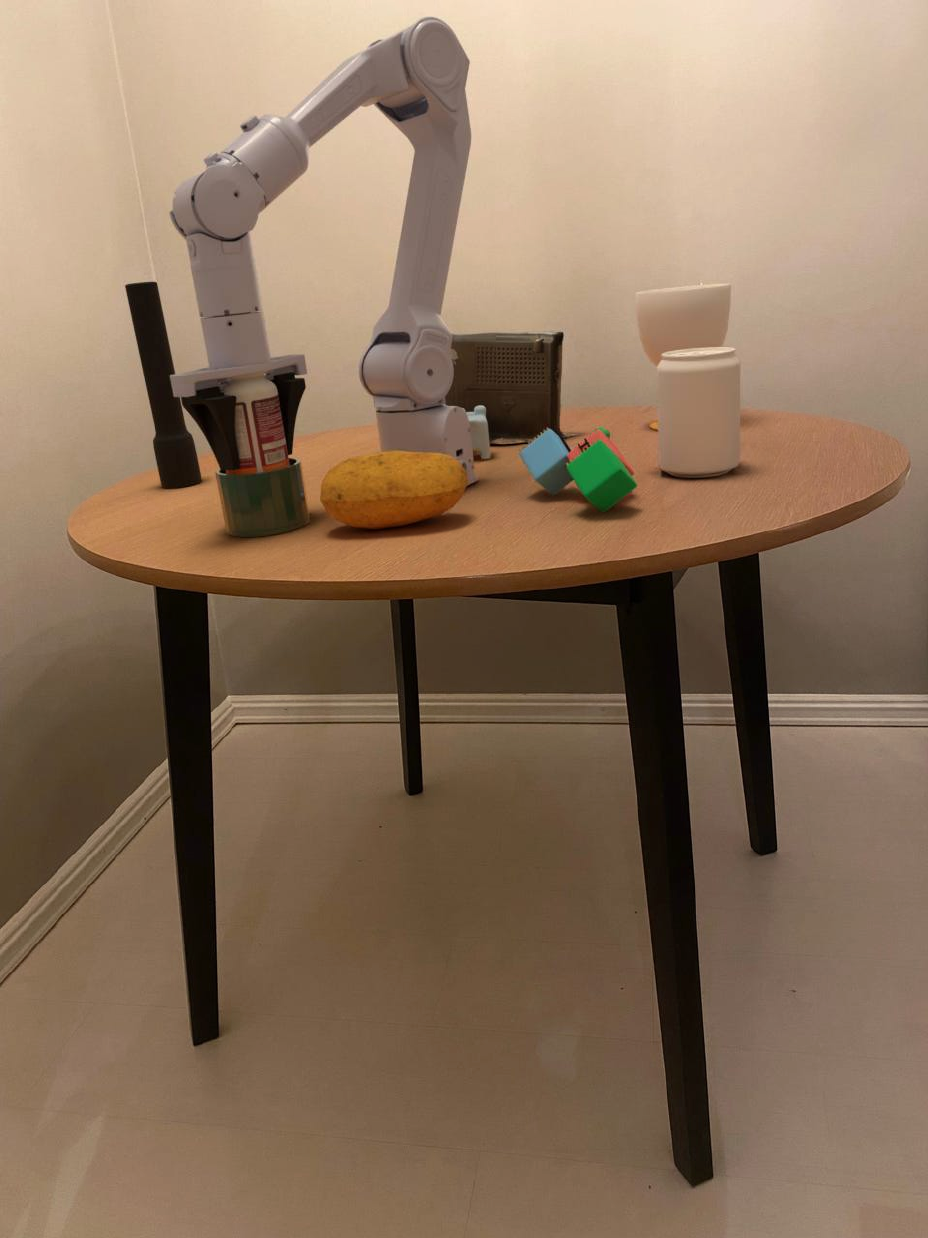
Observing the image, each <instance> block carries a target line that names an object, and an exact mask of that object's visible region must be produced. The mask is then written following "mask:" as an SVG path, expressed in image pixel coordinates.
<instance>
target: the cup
mask: <svg viewBox="0 0 928 1238" xmlns="http://www.w3.org/2000/svg"><path fill="white" fill-rule="evenodd" d="M634 297H635V311H636V319H637V326H638V334H639V339H640V342H641V346H642V349H643V352H644V353H645V355H646V356H647V358H648V359H649V360H650V362H651V363H652V364H653V365H654V366H655V367H658V365H659V363H660V361H661V360H662V357H661V355H662V354H663V353H666V352H670V351H676V350H683V349H693V348H707V347H724V344H725V341H726V337H727V333H728V327H729V321H730V320H729V319H730V312H731V297H732V284H731V283H710V284H709V283H708V284H696V285H687V286H686V285H685V286H684V285H683V286H676V287H664V288H657V289H656V288H655V289H648V290H642V291H636V292H635V295H634ZM649 428H650V429H652V430H655V431H658V420H657V421H654V422H652V423H650V424H649Z"/></svg>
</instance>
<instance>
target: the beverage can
mask: <svg viewBox="0 0 928 1238" xmlns="http://www.w3.org/2000/svg"><path fill="white" fill-rule="evenodd" d="M661 357H662V360H661V361H660V363H659V365H658V366H656V393H657V394H656V397H657V398H656V399H657V401H656V403H657V421H658V430H657V438H658V439H657V441H658V442H657V443H658V467H659V469H660V470H661V471H663V472H665V473H668V474H669V475H670V476H673V477H678V478H690V479H691V478H694V479H697V478H709V477H717V476H720V475H724V474H727V473H729V472H730V470H733V469H735V468H737V467H738V466H739V465H740V461H741V457H740V456H741V455H740V454H741V452H740V451H741V450H740V449H741V362H740V360H739V358H738V356H737V354H736V348H735V347H727V346H722V347H707V348H693V349H683V350H676V351H670V352H666V353H663V354H662V355H661Z"/></svg>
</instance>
